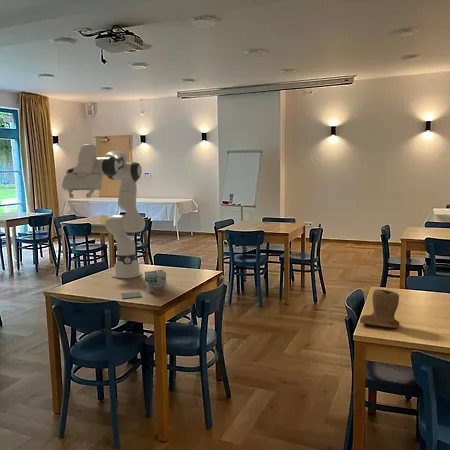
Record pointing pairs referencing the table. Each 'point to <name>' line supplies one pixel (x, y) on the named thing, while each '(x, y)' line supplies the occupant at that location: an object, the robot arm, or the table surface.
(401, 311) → the table surface
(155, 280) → the light bulb box
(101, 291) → the table surface
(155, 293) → the lettered cube
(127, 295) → the slate mat
